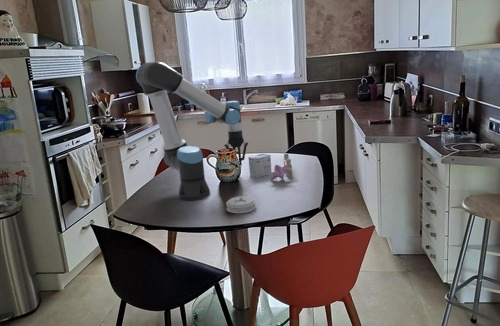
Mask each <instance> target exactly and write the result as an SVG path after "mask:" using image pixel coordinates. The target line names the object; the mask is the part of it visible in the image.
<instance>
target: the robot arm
mask: <svg viewBox="0 0 500 326" xmlns="http://www.w3.org/2000/svg"><path fill="white" fill-rule="evenodd" d="M135 79H136V83H138V84H139V86H141V87H142V90H143V93H144V95H145V96H147V97H148V98H149V100H150V101H149V102H150V104H151V107H152V110H153V112H154V113H153V114H154V116H155V119H156V122H157V124H158V126H159V130H160V132H161V136H162V139H163V142H164V145H163V147H162V148H163V149H162V150H163V151H164V153H163V160H164V163H165V164H166V166H168V167H169V168H170V169H172V170H175V171H178V172H179V179H180V183H179V188H178V193H177V194H178V195H177V196H178V199H179V200H181V201H185V202H187V201H189V202H193V201H199V200H203V199H206V198H208V197H210V195H211V191H210V187H209V186H208V183H207V180H206V178H205V177H206V176H205V168H204V167H205V165H204V155H203V151H202V149H201V148H199V147H198V146H193V145H188V144H187V140H186V139H183V138H182V135H181V132H180V129H179V126H178V123H177V120H176V117H175V114H174V110H173V108H172V105H171V101H170V98H169V95H168V93H170V94H176V95H178V96H179V97H181V98H183V99H184V100H185V101H188V102H189V103H190V104H192V105H194V106H196V107H197V108H200V109H201V110H202V111H204V118H205V120H206V123H208V124H215V123H217V124H218V123H220V124H225V125H226V126H227V130H228V132H227V134H228V135H227V137H228V140H227V142H226V143H224V147H225V148H226V150H227V149H231V148H230V147H232V150H233V149H234V150H237V152H238V153H237V154H238V161H239V162H240V165H241V167H240V168H242V165H243V163H242V162H243V161H244V160H245V158H246V157H245V156H246V150H247V147H248V145H249V142H248V141H246V140H245V139H244V137H243V130H242V129H243V127H242V126H243V125H242V115H241V114H242V112H241V105H240V102H239V100H229V101H226V102H225V104H224V103H223V102H221V101H219V100H218V99H217V98H214V97H213V96H212V95H210V94H208V93H207V92H205V91H204V90H202V89H200V88H199V87H197V86H196V85H194V84H193V83H191V82H190V81H188V80H187V79H185V78H184V76H183V74H181V73H179V72H178V71H177V70H175V69H174V68H172V67H171V66H169V65H168V64H166V63H164V62H161V61H153V62H152V61H150V62H149V61H148V62H145V63H143V64H141V65H139V67H138V68H137V69H136V73H135ZM242 145H243V150H242V154H241V147H242ZM236 148H237V149H236Z"/></svg>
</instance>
